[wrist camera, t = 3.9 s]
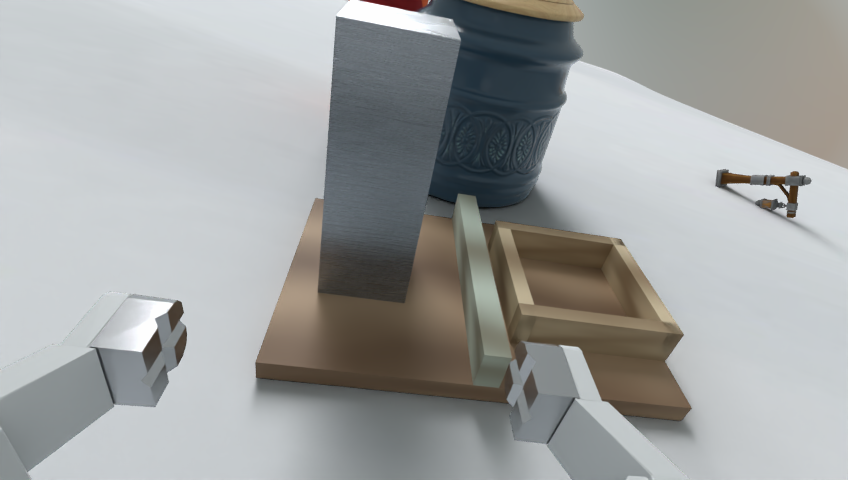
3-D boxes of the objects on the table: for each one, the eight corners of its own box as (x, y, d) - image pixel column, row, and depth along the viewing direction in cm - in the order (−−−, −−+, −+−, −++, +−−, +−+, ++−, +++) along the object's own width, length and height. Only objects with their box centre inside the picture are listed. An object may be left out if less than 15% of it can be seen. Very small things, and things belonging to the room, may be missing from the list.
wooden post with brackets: (801, 220, 44) (808, 173, 43) (712, 209, 50) (717, 168, 49) (808, 217, 45) (816, 171, 44) (720, 207, 51) (725, 167, 50)
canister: (558, 214, 37) (658, -31, 28) (406, 209, 34) (459, -77, 24) (501, 146, 48) (559, -50, 38) (378, 137, 44) (408, -84, 34)
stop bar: (404, 303, 24) (461, 40, 16) (317, 292, 23) (336, 15, 16) (406, 252, 27) (452, 19, 20) (331, 242, 27) (350, -2, 20)
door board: (681, 420, 22) (714, 381, 20) (256, 377, 20) (254, 328, 18) (589, 250, 33) (605, 216, 32) (314, 210, 31) (316, 171, 29)
